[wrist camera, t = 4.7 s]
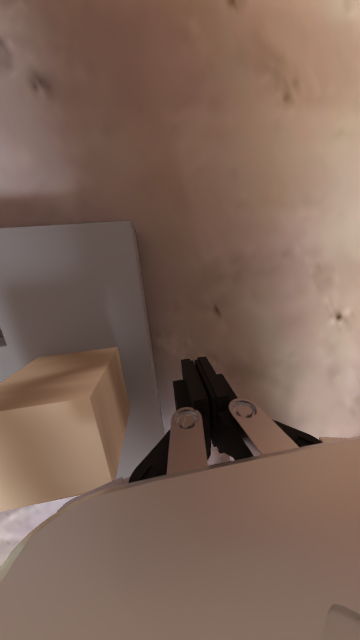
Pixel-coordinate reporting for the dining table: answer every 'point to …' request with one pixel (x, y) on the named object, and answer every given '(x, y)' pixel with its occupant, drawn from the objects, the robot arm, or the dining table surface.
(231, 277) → the dining table surface
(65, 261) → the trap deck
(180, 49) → the dining table surface
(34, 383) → the birch block
